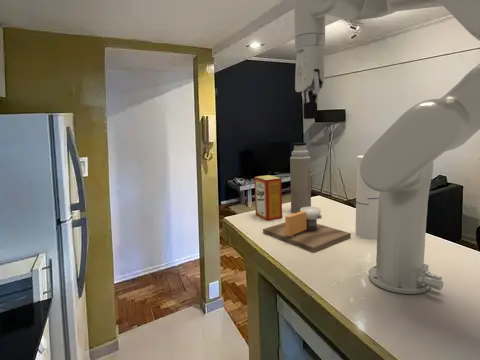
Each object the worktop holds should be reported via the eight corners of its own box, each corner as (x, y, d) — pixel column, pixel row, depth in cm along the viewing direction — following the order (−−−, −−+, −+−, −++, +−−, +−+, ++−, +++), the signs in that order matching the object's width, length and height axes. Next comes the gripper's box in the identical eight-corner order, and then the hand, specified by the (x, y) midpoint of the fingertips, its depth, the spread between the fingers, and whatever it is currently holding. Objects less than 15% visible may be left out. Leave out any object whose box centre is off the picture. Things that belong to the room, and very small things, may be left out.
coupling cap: (306, 221, 110) (306, 205, 109) (326, 227, 104) (326, 209, 102) (277, 232, 101) (277, 214, 100) (297, 238, 95) (297, 219, 94)
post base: (350, 237, 100) (350, 220, 99) (314, 252, 90) (313, 234, 89) (298, 222, 117) (298, 207, 116) (263, 233, 108) (262, 217, 107)
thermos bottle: (313, 210, 132) (313, 141, 127) (307, 215, 125) (306, 143, 120) (295, 208, 136) (294, 142, 131) (288, 213, 130) (286, 143, 125)
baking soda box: (255, 215, 129) (254, 175, 126) (269, 212, 132) (268, 174, 129) (267, 221, 120) (266, 179, 118) (282, 218, 123) (281, 177, 120)
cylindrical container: (382, 239, 98) (384, 157, 93) (357, 238, 99) (359, 158, 95) (376, 231, 104) (379, 154, 100) (353, 230, 106) (355, 155, 101)
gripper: (287, 51, 88) (289, 119, 91) (304, 37, 73) (305, 119, 76) (314, 51, 89) (314, 118, 92) (336, 36, 74) (335, 117, 77)
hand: (310, 118), depth 84 cm, fingers closed
